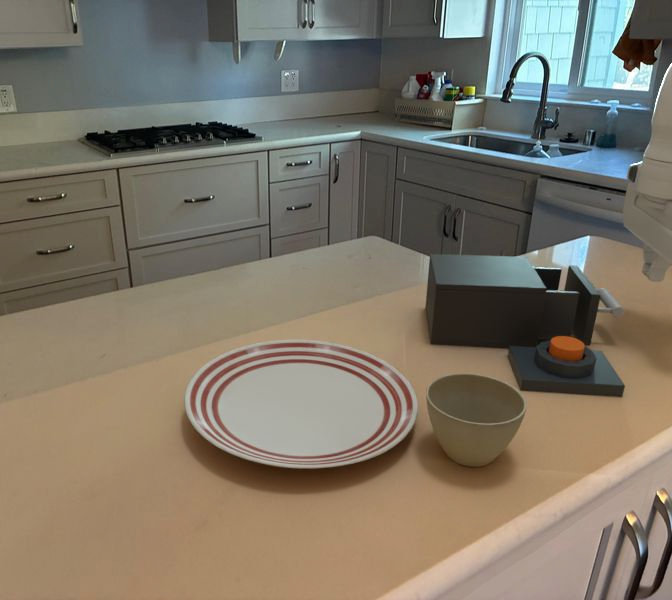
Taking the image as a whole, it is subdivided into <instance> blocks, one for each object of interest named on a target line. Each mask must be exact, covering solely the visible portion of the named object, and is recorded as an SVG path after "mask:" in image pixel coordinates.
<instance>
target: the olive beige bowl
mask: <svg viewBox="0 0 672 600" xmlns="http://www.w3.org/2000/svg"><path fill="white" fill-rule="evenodd" d="M425 399H426V407H427V412H428V417H429V421H430V424H431V428H432V430H433V432H434V435H435V437H436V439H437V441H438V443H439V445H440V447H441V448H442V450H443V451H444V453H445V454H446V456H447V457H448V458H449V460H451V461H453V462H455V463H457V464H458V465H461V466H465V467H472V468H479V467H484V466H487V465H489V464H490V463H492V462H493V461H494V460H495V459H496V458H498V457H499V456H500V455H501V454H502V453H503V452H504V451H505V450H506V448H507V447H508V446H509V445H510V444H511V442H512V441H513V439H514V438H515V436H516V435H517V433H518V431H519V429H520V427H521V426H522V423H523V420H524V418H525V415H526V412H527V407H528V405H527V400H526V398H525V395H524V394H523V393H522V392H521V391H520V389H518V388H516V387H515V386H513V385H512V384H510V383H508V382H506V381H504V380H502V379H499V378H496V377H494V376H489V375H486V374H480V373H474V372H473V373H471V372H456V373H449V374H444V375H441V376H439V377H436V378H435V379H433V380H432V381H431V382H430V383H428V385H427V388H426V391H425Z"/></svg>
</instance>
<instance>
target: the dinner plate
mask: <svg viewBox="0 0 672 600" xmlns="http://www.w3.org/2000/svg"><path fill="white" fill-rule="evenodd" d="M183 401H184V410H185V413H186V416H187V419H188V420H189V422H190V424H191V425H192V426H193V428H194V429H195V431H197V433H198V434H199V435H200V436H202V437H203V439H205V440H206V441H208V442H209V443H210V444H212V445H214V446H215V447H217V448H219V449H220V450H222V451H224V452H226V453H227V454H230V455H232V456H235V457H237V458H240V459H243V460H247V461H250V462H254V463H257V464H262V465H265V466H272V467H277V468H278V467H279V468H286V469H287V468H289V469H325V468H326V469H327V468H334V467H342V466H348V465H352V464H357V463H360V462H364V461H367V460H370V459H372V458H375V457H378V456H380V455H382V454H384V453H386V452H387V451H389V450H391V449H392V448H394V447H396V446H397V445H398V444H399V443H400V442H402V441H403V440H404V439H405V438H406V437H407V436H408V434H409V433H410V432H411V431H412V429H413V428H414V426H415V423H416V421H417V418H418V413H419V401H418V396H417V394H416V392H415V390H414V387H413V386H412V384H411V383H410V381H409V380H408V379H407V377H405V376H404V374H402V373H401V372H400V371H399V370H398V369H397V368H396V367H394V366H392V365H391V364H390V363H388V362H386V361H385V360H384V359H381V358H380V357H378V356H375V355H373V354H371V353H369V352H367V351H364V350H361V349H358V348H357V347H356V348H355V347H351V346H348V345H345V344H340V343H335V342H330V341H323V340H315V339H314V340H313V339H280V340H279V339H277V340H270V341H269V340H268V341H263V342H258V343H252V344H249V345H245V346H241V347H238V348H235V349H232V350H230V351H227V352H225V353H223V354H220V355H218V356H216V357H215V358H213V359H211V360H209V361H208V362H207V363H205V364H204V365H203V366H202V367H200V368H199V369H198V370H197V372H195V373H194V375H193V376H192V378H191V379H190V381H189V382H188V385H187V387H186V388H185V393H184V400H183Z"/></svg>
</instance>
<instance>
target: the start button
mask: <svg viewBox="0 0 672 600" xmlns="http://www.w3.org/2000/svg"><path fill="white" fill-rule="evenodd" d="M585 347H586V346H585V345H584V343H583V342H582V341H580V340H578V339H577V337H572V336H571V337H567V336H557V337H553V338H552V339H551V342H550V347H549V354H550V355H551V356H553V357H555V358H558V359H561V360H565V361H579V360H582V358H583V353H584V348H585Z"/></svg>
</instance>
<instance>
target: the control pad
mask: <svg viewBox="0 0 672 600" xmlns="http://www.w3.org/2000/svg"><path fill="white" fill-rule="evenodd" d="M550 342H551V340H550V339H548V340H545V341H541V342H540V343H538V344H537V347H522V346H509V349H507V350H508V351H507V359H508V362H509V364H510V367H511V369H512V372H513V374H514V377H515V380H516V382H517V385H518V388H519V391H520V392H521V391H524V392H539V393H554V394H569V395H582V396H583V395H584V396H599V397H612V398H613V397H614V398H615V397H616V398H623V395H624V392H625V388H626V385H625V383H624V382H623V380H622V379H621V377H620V376H619V374H618V372H616V370H615V368H614V367H613V365H612V364H611V363H610V361H609V360H608V358H607V357H606V355H605V354H604V352H603V350H594V349H590V348H588V347H587V346H585V348H584V353H583V358H582V360H579V361H565V360H561V359H558V358H555V357H553V356H551V355H550V354H549V347H550Z"/></svg>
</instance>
